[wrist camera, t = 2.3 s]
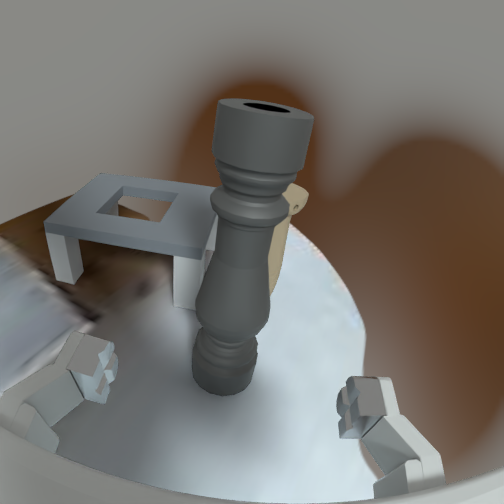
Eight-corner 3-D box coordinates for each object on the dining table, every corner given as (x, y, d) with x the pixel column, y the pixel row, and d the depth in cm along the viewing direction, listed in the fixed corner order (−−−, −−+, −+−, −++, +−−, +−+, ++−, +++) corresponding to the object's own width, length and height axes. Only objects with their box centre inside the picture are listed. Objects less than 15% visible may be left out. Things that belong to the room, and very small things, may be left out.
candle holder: (207, 339, 34) (238, 96, 20) (260, 360, 33) (325, 115, 19) (181, 380, 29) (193, 102, 15) (239, 405, 28) (309, 125, 14)
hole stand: (56, 280, 37) (43, 221, 32) (103, 222, 50) (100, 173, 45) (197, 310, 38) (202, 248, 33) (217, 240, 51) (223, 188, 46)
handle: (226, 296, 41) (242, 186, 32) (262, 280, 44) (285, 178, 36) (250, 319, 38) (275, 206, 29) (287, 300, 42) (317, 196, 33)
